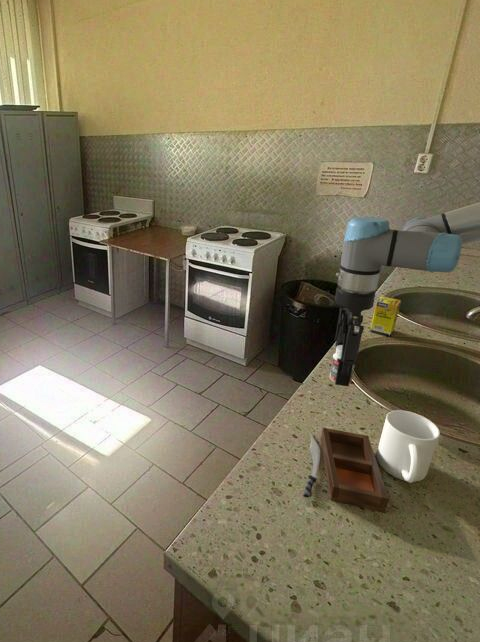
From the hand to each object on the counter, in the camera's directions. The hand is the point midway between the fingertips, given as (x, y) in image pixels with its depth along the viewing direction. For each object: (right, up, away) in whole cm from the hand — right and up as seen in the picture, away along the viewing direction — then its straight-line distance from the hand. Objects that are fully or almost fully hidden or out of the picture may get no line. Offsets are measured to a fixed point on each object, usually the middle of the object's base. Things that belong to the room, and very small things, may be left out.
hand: (339, 378), depth 95 cm
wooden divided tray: (-9, -14, -18) cm, 25 cm away
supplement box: (+33, +7, +35) cm, 49 cm away
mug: (+1, -14, -19) cm, 24 cm away
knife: (-15, -14, -16) cm, 26 cm away
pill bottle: (0, -1, 0) cm, 1 cm away
